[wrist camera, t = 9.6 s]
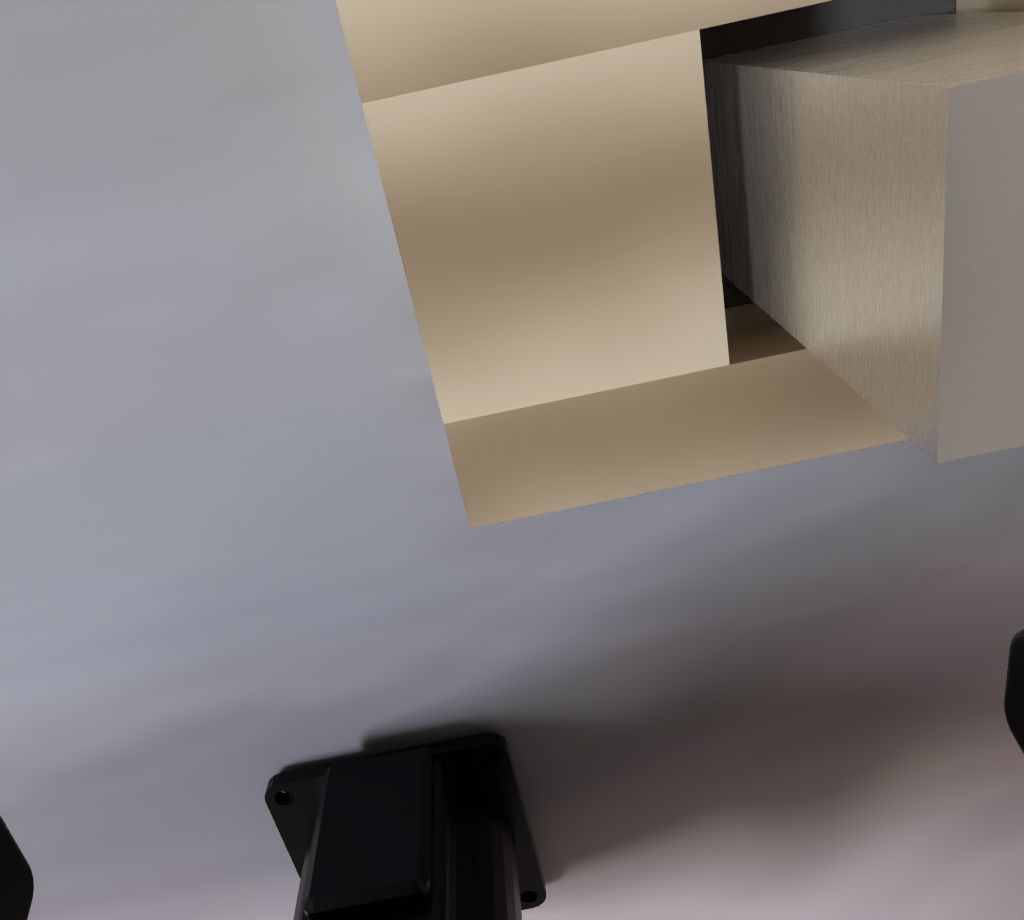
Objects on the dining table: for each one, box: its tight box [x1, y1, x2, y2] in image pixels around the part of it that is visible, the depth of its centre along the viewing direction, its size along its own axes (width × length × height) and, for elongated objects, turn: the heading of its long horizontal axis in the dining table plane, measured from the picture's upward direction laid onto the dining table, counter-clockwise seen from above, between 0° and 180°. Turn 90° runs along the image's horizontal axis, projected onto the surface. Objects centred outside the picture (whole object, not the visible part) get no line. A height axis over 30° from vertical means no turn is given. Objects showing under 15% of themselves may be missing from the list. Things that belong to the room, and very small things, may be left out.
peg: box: [702, 11, 1024, 463], centre depth 13 cm, size 4×4×9 cm
